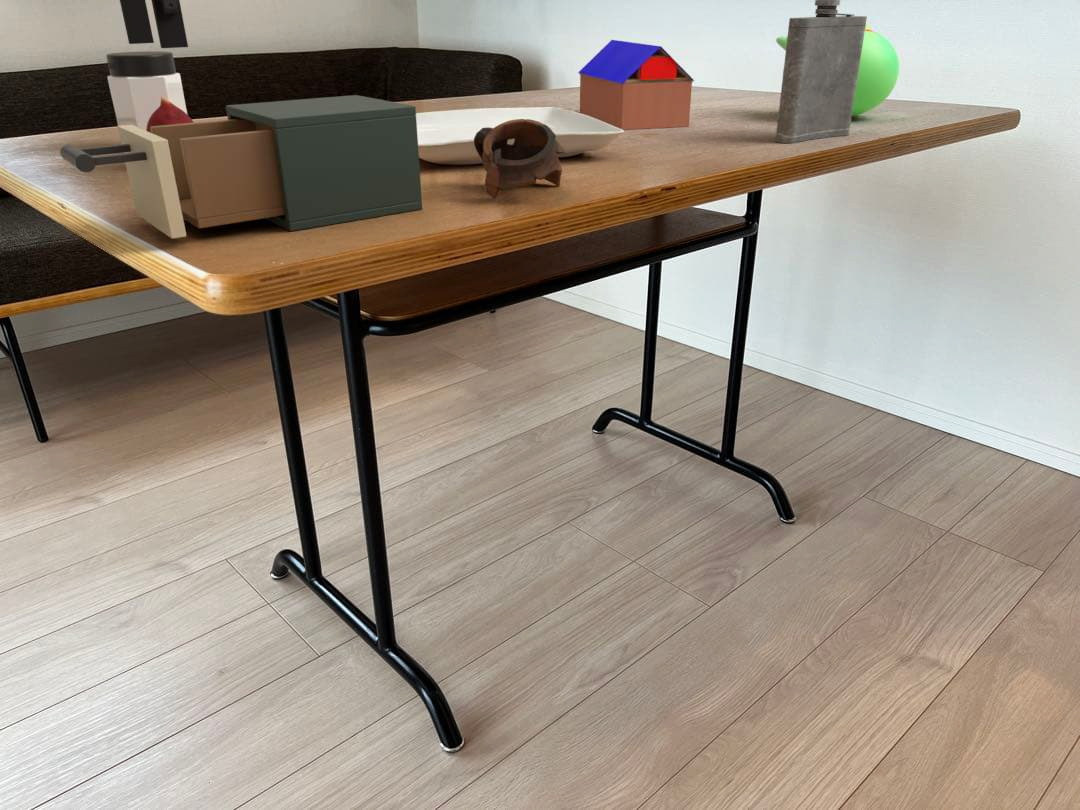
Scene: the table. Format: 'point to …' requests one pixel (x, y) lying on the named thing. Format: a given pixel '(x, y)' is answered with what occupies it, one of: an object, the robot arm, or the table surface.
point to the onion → (167, 115)
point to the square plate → (455, 130)
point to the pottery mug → (518, 155)
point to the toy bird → (871, 71)
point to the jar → (142, 85)
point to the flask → (820, 74)
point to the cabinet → (341, 157)
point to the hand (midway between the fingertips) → (157, 45)
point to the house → (635, 87)
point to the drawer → (194, 172)
